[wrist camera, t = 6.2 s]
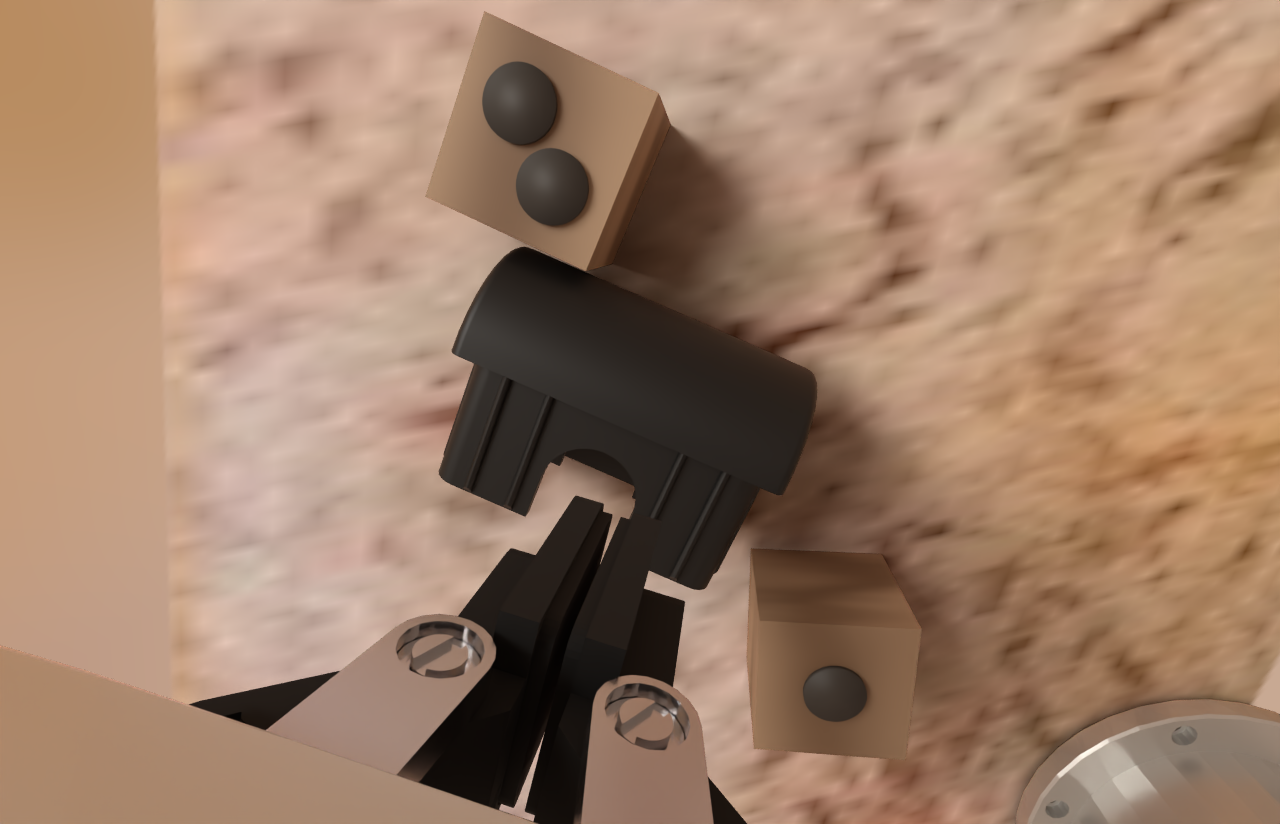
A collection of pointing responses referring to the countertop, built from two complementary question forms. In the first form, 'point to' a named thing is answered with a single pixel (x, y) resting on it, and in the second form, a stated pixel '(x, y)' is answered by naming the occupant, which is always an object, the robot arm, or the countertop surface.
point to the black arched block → (623, 406)
